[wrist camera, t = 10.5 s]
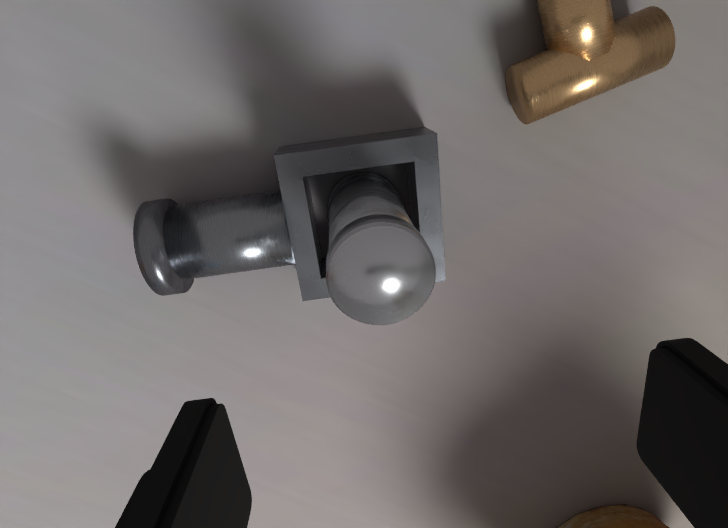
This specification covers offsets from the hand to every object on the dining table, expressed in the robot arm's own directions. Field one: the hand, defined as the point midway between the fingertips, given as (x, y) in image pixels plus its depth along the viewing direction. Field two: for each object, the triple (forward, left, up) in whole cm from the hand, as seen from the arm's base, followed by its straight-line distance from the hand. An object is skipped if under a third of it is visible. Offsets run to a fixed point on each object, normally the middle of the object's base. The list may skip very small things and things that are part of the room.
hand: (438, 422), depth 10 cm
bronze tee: (-11, -8, -17) cm, 22 cm away
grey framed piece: (+4, 0, -17) cm, 18 cm away
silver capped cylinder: (0, 0, -18) cm, 18 cm away
